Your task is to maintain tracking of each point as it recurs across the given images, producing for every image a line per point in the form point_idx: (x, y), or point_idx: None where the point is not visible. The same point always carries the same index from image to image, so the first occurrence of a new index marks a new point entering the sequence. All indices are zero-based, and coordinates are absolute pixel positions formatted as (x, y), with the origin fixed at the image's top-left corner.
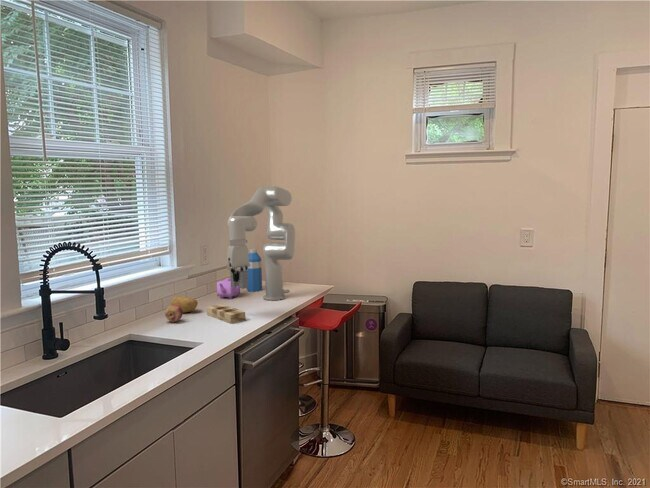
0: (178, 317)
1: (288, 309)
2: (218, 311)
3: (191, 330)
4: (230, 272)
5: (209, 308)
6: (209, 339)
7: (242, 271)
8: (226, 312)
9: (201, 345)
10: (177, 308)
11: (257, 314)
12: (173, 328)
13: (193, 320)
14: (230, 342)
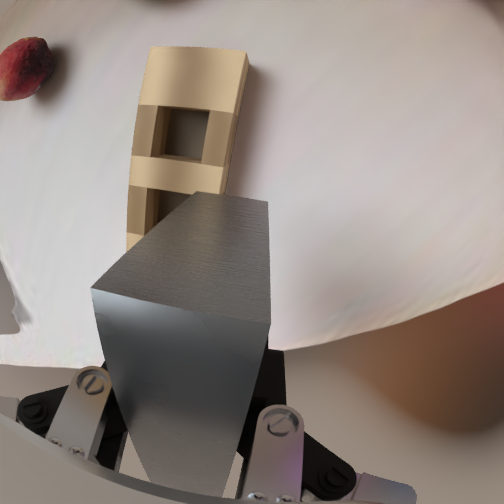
0: (26, 97)
1: (429, 305)
2: (130, 173)
3: (29, 215)
4: (122, 258)
5: (145, 76)
6: (44, 318)
7: (174, 480)
8: (138, 232)
9: (27, 327)
10: (1, 94)
11: (316, 257)
12: (11, 150)
13: (81, 99)
14: (74, 366)
